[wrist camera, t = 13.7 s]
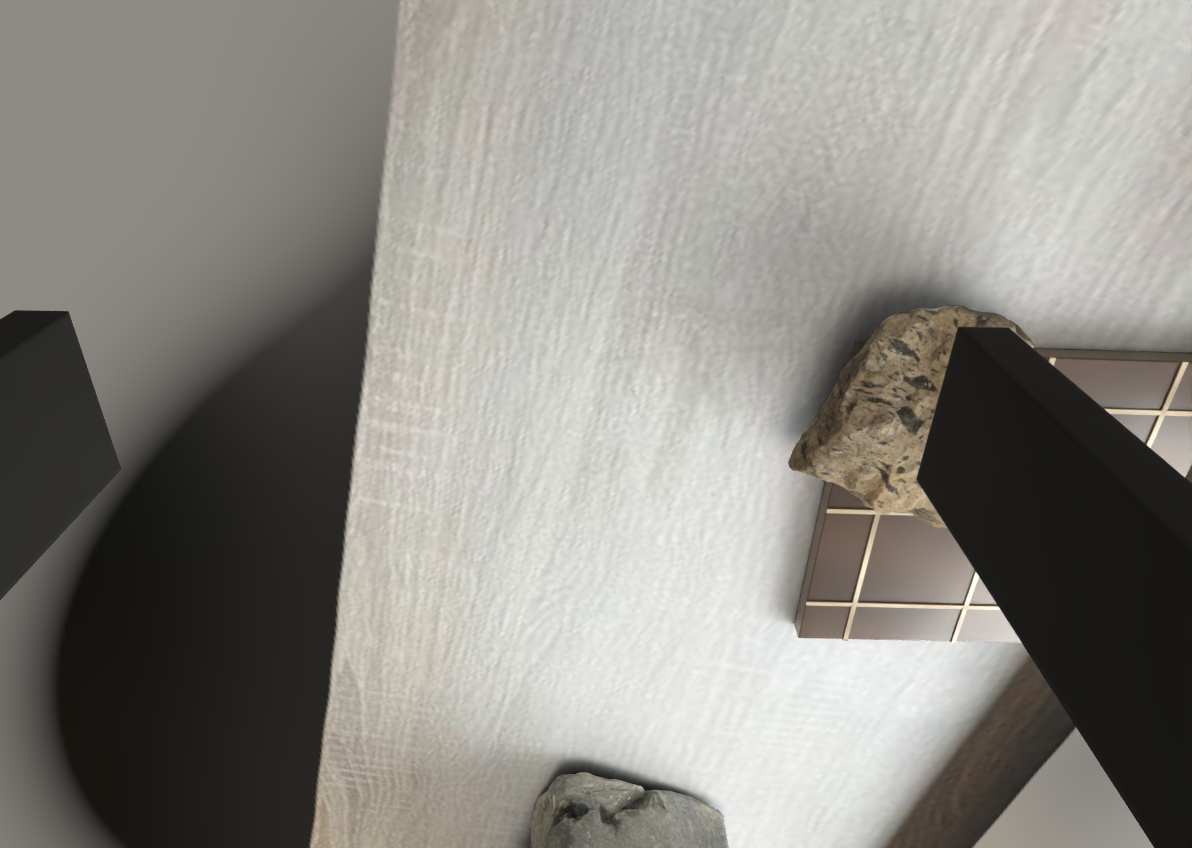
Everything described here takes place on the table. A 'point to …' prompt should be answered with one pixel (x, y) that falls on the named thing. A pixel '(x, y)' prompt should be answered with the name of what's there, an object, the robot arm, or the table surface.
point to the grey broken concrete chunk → (621, 817)
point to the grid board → (931, 555)
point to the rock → (888, 410)
